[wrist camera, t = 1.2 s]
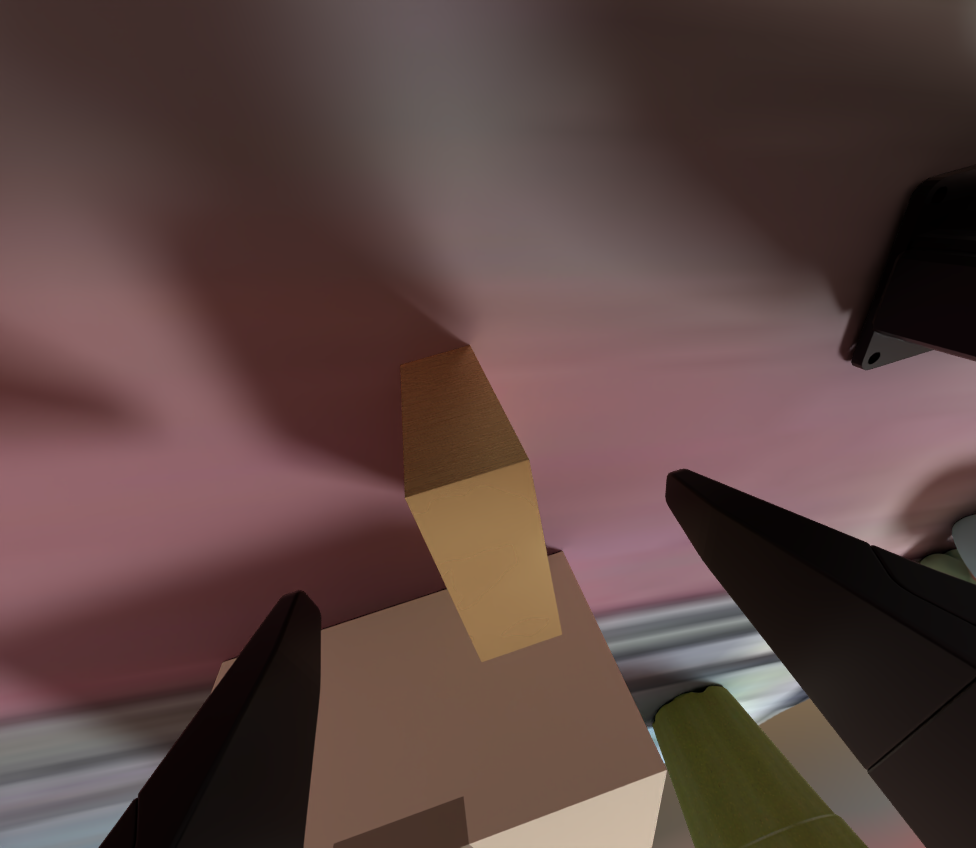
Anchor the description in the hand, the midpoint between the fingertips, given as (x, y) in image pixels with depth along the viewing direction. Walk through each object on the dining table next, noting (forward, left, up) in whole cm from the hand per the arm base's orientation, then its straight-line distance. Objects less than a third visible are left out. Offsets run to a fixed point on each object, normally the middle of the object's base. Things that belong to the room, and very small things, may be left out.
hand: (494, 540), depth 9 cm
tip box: (+5, +15, -5) cm, 17 cm away
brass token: (0, 0, -5) cm, 5 cm away
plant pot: (-12, +34, -5) cm, 36 cm away
